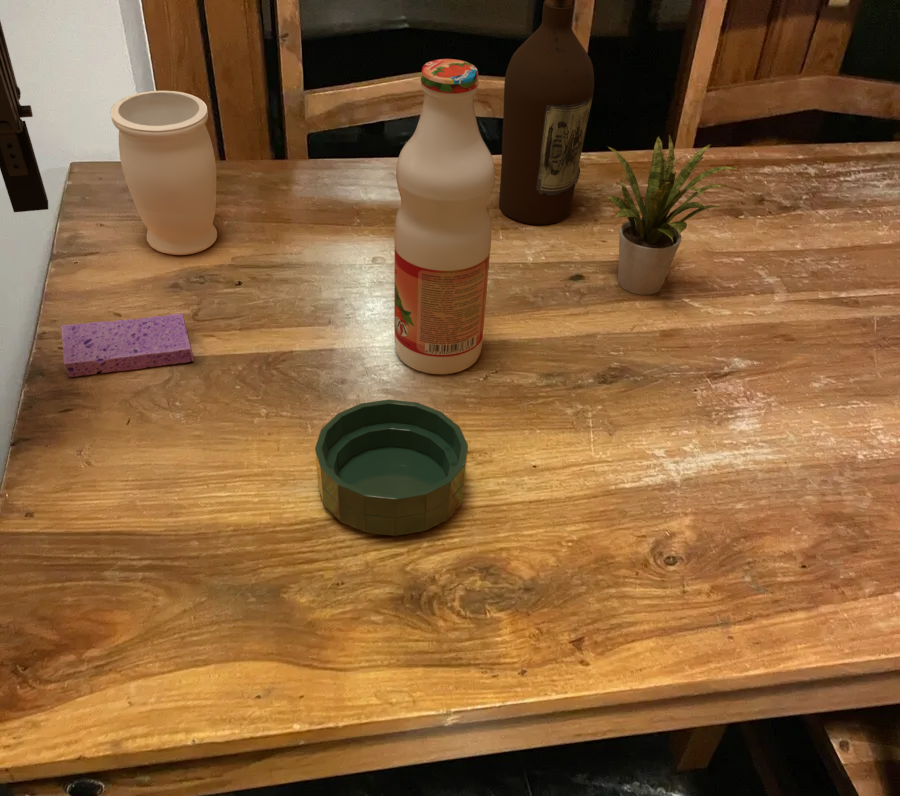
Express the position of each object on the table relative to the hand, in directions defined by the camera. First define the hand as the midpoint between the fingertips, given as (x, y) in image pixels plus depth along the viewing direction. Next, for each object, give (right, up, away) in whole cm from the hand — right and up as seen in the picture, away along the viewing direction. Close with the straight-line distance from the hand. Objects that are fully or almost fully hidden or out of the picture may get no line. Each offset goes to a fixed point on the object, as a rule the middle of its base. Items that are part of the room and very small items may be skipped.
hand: (31, 206), depth 78 cm
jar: (+3, +11, +35) cm, 37 cm away
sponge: (+1, -7, +20) cm, 21 cm away
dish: (+30, -23, +8) cm, 38 cm away
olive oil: (+46, +18, +44) cm, 66 cm away
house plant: (+59, +4, +33) cm, 67 cm away
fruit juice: (+34, -6, +23) cm, 41 cm away
